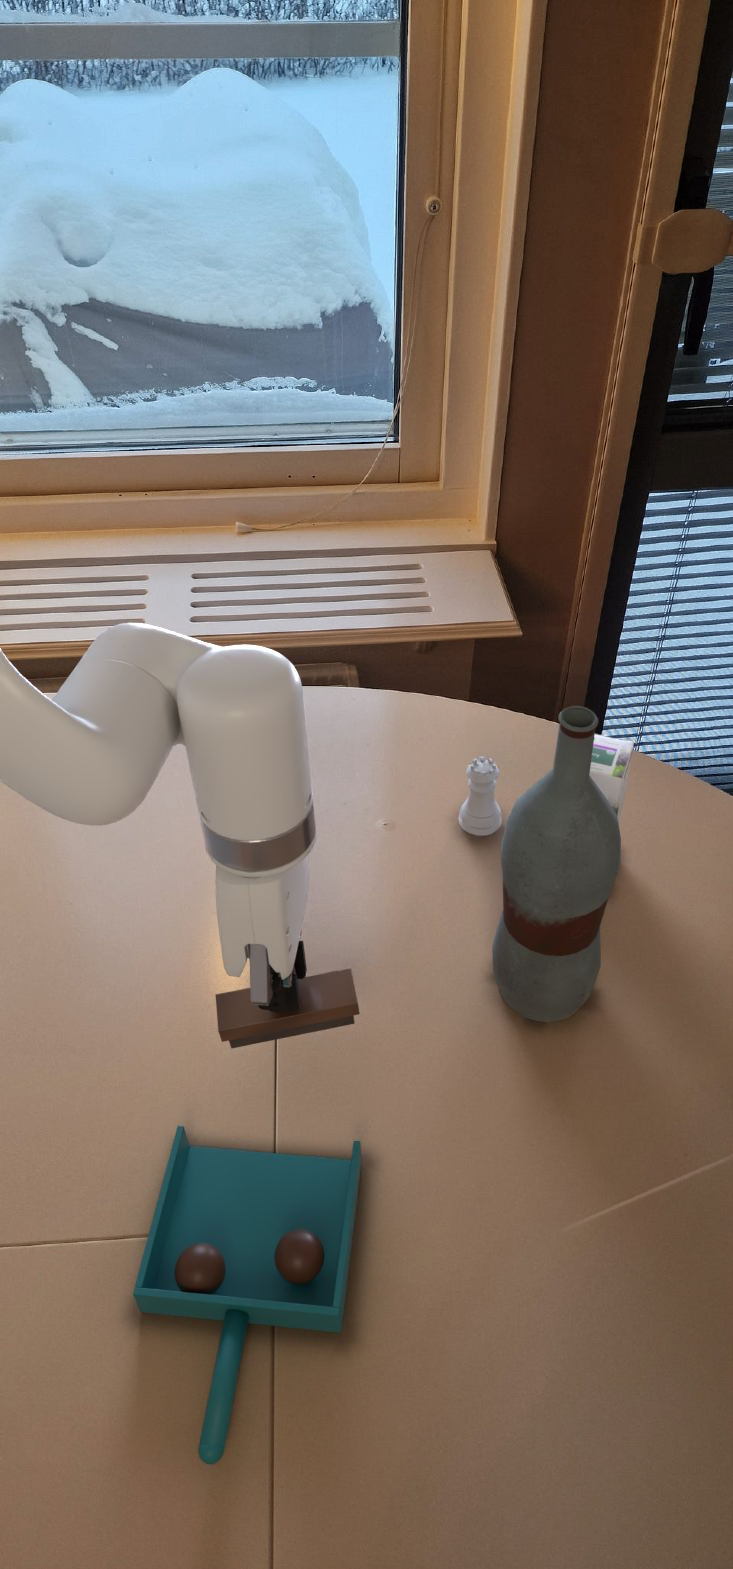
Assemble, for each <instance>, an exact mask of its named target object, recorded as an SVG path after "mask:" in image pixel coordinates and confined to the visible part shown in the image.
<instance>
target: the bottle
mask: <svg viewBox="0 0 733 1569" xmlns="http://www.w3.org/2000/svg"><path fill="white" fill-rule="evenodd" d="M557 717H558V722H559V725H558V732H557V738H556V745H555V752H554V759H553V765H552V766H553V767H552V769H550V771H548V772H547V773H545V775H543V777H541V778H540V779H539V780H537V781H536V782H535V783H534V784H533V785H531V786H530V787H529V788H528V789H527V790H525V791H524V792H523V793H522V794H521V795H520V796H519V797H517V798H516V800H515V802H514V804H513V806H512V809H511V811H510V813H509V815H508V817H507V819H506V822H505V825H504V826H505V827H504V830H503V834H502V837H501V842H500V861H501V873H502V874H501V875H502V876H501V877H502V912H501V915H500V918H499V921H498V924H497V927H496V931H495V935H494V939H493V941H492V942H493V943H492V946H491V947H492V966H493V977H494V981H495V984H496V986H497V989H498V991H499V994H500V997H501V998H502V1000H503V1001H504V1003H505V1004H506V1005H507V1006H508V1007H509V1009H510V1010H512V1011H514V1012H515V1013H516V1014H518V1015H520V1016H521V1017H523V1018H526V1019H529V1020H532V1021H534V1022H541V1023H542V1022H544V1023H545V1022H546V1023H554V1022H558V1021H563V1020H566V1019H568V1018H569V1017H571V1016H574V1015H575V1014H576V1013H578V1012H579V1010H580V1009H581V1008H582V1007H583V1005H584V1004H585V1003H586V1002H587V1000H588V999H589V998H590V996H591V994H592V992H593V990H594V986H595V984H596V982H597V979H598V976H599V972H600V969H601V965H602V964H601V963H602V962H601V961H602V959H601V958H602V957H601V956H602V952H601V951H602V941H601V924H602V921H603V917H604V914H605V912H606V907H607V905H608V901H609V898H610V895H611V892H612V889H613V886H614V884H615V881H616V879H617V877H618V873H619V869H620V866H621V860H622V859H621V856H622V854H621V852H622V837H621V831H620V829H621V828H620V823H618V818H617V814H616V812H615V811H614V809H613V807H612V806H611V804H610V803H609V801H608V800H607V798H606V797H605V796H604V794H603V793H602V791H601V790H600V789H599V787H598V786H597V785H596V783H595V782H594V780H593V779H592V778H591V776H590V775H589V774H590V766H591V758H592V751H593V743H594V735H595V734H596V728H597V727H598V726H599V718H598V717H597V715H596V714H595V712H594V711H593V710H591V709H590V708H589V707H586V706H582V705H571V706H567V707H565V708H564V709H563V710H561V711H560V712H559V714H558V715H557Z"/></svg>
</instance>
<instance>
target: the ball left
mask: <svg viewBox="0 0 733 1569" xmlns="http://www.w3.org/2000/svg"><path fill="white" fill-rule="evenodd" d="M225 1272H226V1266H225V1261H224V1258H223V1256H222V1254H221V1253H220V1251H219V1250H218V1249H217V1248H215V1247H214V1246H212V1245H210V1244H206V1243H198V1244H194V1245H191V1246H190V1247H188V1248H186V1249H185V1250H184V1251H183V1252H182V1253H181V1255H180V1256H179V1258H178V1260H177V1262H176V1266H175V1280H176V1283H177V1286H178V1287H179V1289H180V1290H181V1291H182V1292H187V1293H197V1294H207V1295H212V1294H214V1293H215V1292H216V1291H217V1290H218V1289H219V1288H220V1286H221V1285H222V1283H223V1280H224V1277H225Z"/></svg>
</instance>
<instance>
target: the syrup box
mask: <svg viewBox="0 0 733 1569" xmlns="http://www.w3.org/2000/svg"><path fill="white" fill-rule="evenodd" d="M634 745H635V740H623V739H618V738H614V737H612V736H607V735H603V734H598V733H595V735H594V743H593V751H592V758H591V766H590V774H589V775H590V776H591V778H592V779H593V780H594V782H595V783H596V785H597V786H598V787H599V789H600V790H601V791H602V793H603V794H604V796H605V797H606V798H607V800H608V801H609V803H610V804H611V806H612V807H613V809H614V811H615V812H616V814H617V818H618V823H619V824H620V823H621V817H622V812H623V806H624V801H625V795H626V791H627V790H626V789H627V784H628V779H629V772H630V769H631V762H632V756H633V752H634V748H635V746H634Z"/></svg>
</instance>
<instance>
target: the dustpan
mask: <svg viewBox="0 0 733 1569" xmlns="http://www.w3.org/2000/svg"><path fill="white" fill-rule="evenodd" d="M362 1162H363V1160H362V1147H361V1140H353V1143H352V1150H351V1159H344V1158H333V1157H332V1158H331V1157H320V1156H310V1155H299V1154H287V1153H274V1152H263V1151H253V1150H252V1151H251V1150H240V1149H230V1148H218V1147H205V1146H194V1145H190V1142H189V1139H188V1135H187V1133H186V1129H185V1126H184V1125H177V1127H176V1130H175V1135H174V1138H173V1142H172V1146H171V1149H170V1154H169V1157H168V1161H167V1164H166V1167H165V1168H166V1169H165V1172H164V1175H163V1180H162V1183H161V1188H160V1190H159V1194H158V1199H157V1202H156V1206H155V1210H154V1213H153V1217H152V1221H151V1224H150V1227H149V1232H148V1236H147V1239H146V1244H145V1248H144V1251H143V1255H142V1257H141V1262H140V1266H139V1270H138V1273H137V1277H136V1280H135V1283H134V1289H133V1292H132V1295H133V1298H134V1300H135V1302H136V1305H137V1307H138V1310H139V1311H140V1313H144V1314H145V1313H146V1314H154V1315H155V1314H156V1315H165V1316H176V1317H185V1318H195V1319H204V1320H213V1321H221V1322H223V1323H222V1328H221V1333H220V1337H219V1343H218V1348H217V1354H216V1356H215V1357H216V1359H215V1363H214V1368H213V1373H212V1376H211V1377H212V1378H211V1384H210V1388H209V1393H208V1398H207V1404H206V1408H205V1413H204V1419H203V1423H202V1428H201V1433H200V1438H199V1443H198V1450H197V1453H198V1456H199V1459H200V1460H201V1461H202V1463H204V1464H206V1465H210V1466H211V1465H215V1464H217V1463H218V1462H220V1461H221V1459H222V1458H223V1456H224V1453H225V1449H226V1444H227V1437H228V1433H229V1427H230V1422H231V1417H232V1411H233V1406H234V1400H235V1394H236V1389H237V1383H238V1378H239V1373H240V1367H241V1361H242V1356H243V1351H244V1347H245V1346H244V1345H245V1340H246V1335H247V1329H248V1324H250V1325H251V1324H252V1325H261V1326H270V1327H281V1328H290V1329H301V1330H308V1331H309V1330H310V1331H320V1332H329V1333H338V1334H341V1333H342V1328H343V1322H344V1314H345V1306H346V1297H347V1288H348V1280H349V1273H350V1272H349V1271H350V1262H351V1256H352V1255H351V1254H352V1247H353V1246H352V1245H353V1238H354V1230H355V1221H356V1213H357V1206H358V1198H359V1197H358V1196H359V1188H360V1179H361V1172H362ZM297 1229H304V1230H308V1231H310V1232H312V1233H314V1234H315V1235H316V1236H317V1237H318V1238H319V1240H320V1241H321V1243H322V1245H323V1248H324V1255H325V1256H324V1264H323V1267H322V1269H321V1271H320V1273H319V1274H318V1275H317V1276H316V1277H315V1278H314V1279H313V1280H311V1281H310V1282H307V1283H304V1284H293V1283H290V1282H288V1281H286V1280H285V1279H284V1278H283V1277H282V1276H281V1275H280V1274H279V1272H278V1271H277V1268H276V1266H275V1260H274V1255H275V1249H276V1246H277V1244H278V1242H279V1241H280V1239H281V1238H282V1237H283V1236H284V1235H285V1234H287V1233H288V1232H290V1231H293V1230H297ZM198 1243H206V1244H210V1245H212V1246H214V1247H215V1248H217V1249H218V1250H219V1251H220V1253H221V1254H222V1256H223V1258H224V1261H225V1266H226V1272H225V1277H224V1280H223V1283H222V1285H221V1286H220V1288H219V1289H218V1290H217V1291H216V1292H215V1293H214V1294H212V1295H207V1294H197V1293H187V1292H182V1291H181V1290H180V1289H179V1287H178V1286H177V1283H176V1280H175V1266H176V1262H177V1260H178V1258H179V1256H180V1255H181V1253H182V1252H183V1251H184V1250H185V1249H186V1248H188V1247H190V1246H191V1245H194V1244H198Z"/></svg>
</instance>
